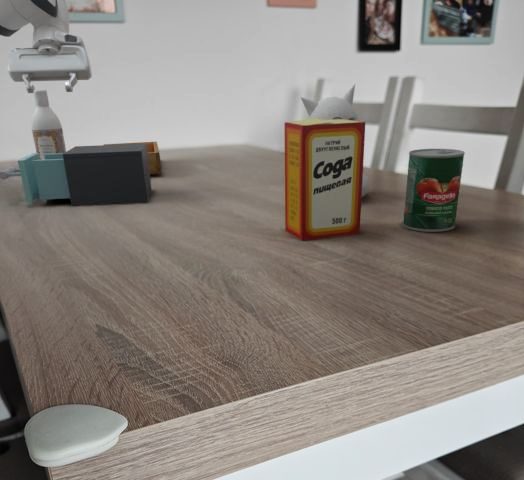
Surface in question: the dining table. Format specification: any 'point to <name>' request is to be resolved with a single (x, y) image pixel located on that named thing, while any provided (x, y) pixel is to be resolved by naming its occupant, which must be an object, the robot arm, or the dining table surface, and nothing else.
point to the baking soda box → (323, 177)
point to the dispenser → (108, 174)
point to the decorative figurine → (335, 115)
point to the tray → (150, 156)
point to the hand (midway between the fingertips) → (49, 90)
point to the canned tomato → (432, 189)
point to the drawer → (41, 176)
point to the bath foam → (46, 127)
